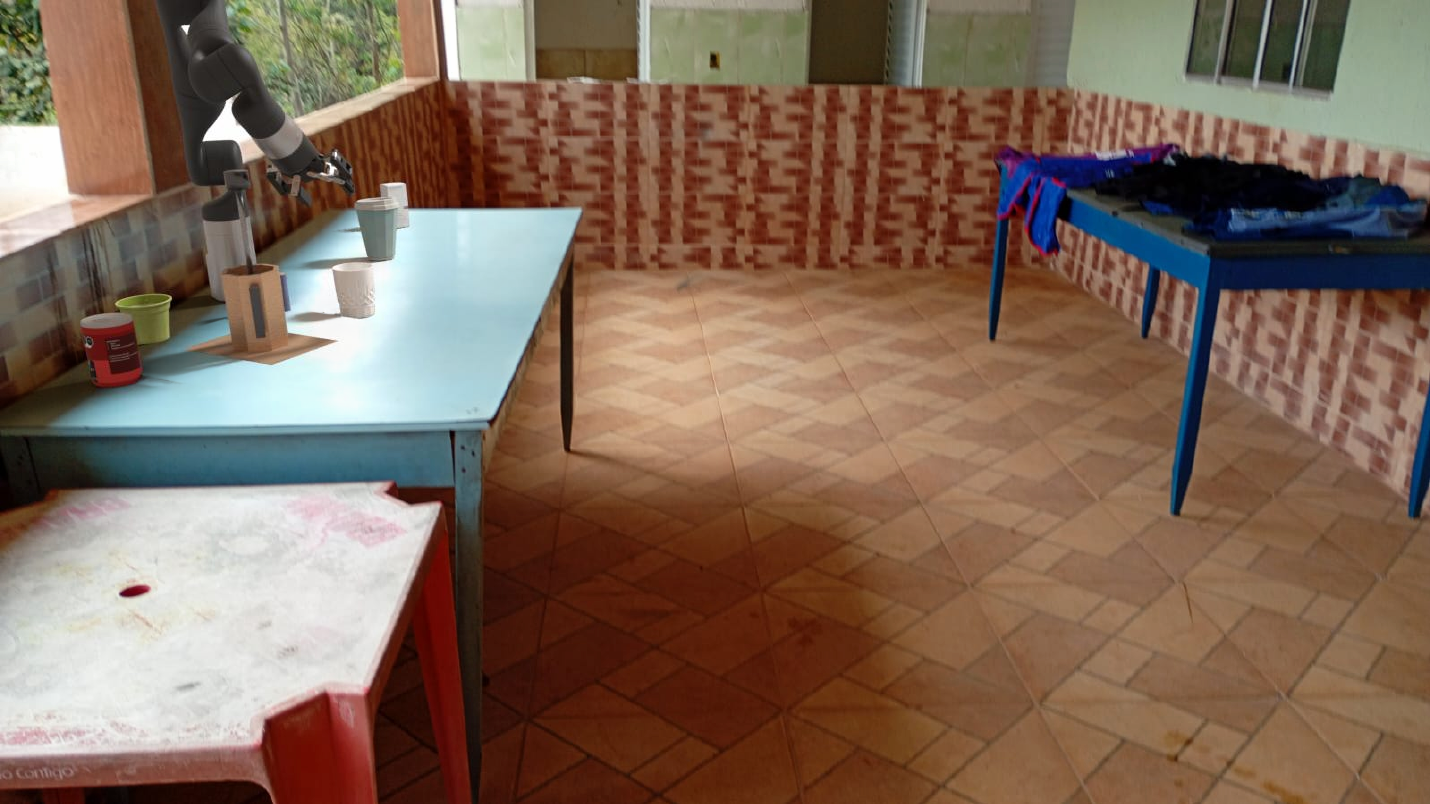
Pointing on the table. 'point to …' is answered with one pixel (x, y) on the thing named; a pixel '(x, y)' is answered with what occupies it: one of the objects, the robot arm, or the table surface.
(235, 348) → the press beaker
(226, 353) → the walnut board
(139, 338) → the plant pot
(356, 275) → the white cup
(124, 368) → the canned food
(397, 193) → the skincare box
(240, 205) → the plunger
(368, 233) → the disposable coffee cup
